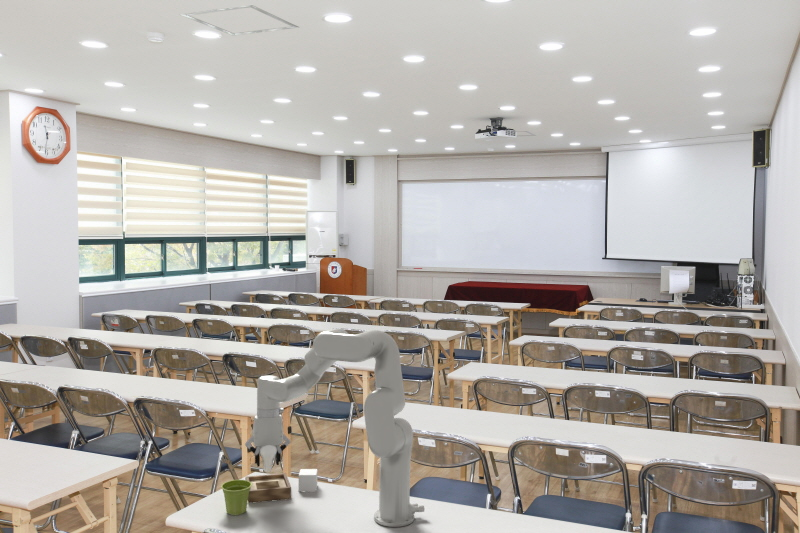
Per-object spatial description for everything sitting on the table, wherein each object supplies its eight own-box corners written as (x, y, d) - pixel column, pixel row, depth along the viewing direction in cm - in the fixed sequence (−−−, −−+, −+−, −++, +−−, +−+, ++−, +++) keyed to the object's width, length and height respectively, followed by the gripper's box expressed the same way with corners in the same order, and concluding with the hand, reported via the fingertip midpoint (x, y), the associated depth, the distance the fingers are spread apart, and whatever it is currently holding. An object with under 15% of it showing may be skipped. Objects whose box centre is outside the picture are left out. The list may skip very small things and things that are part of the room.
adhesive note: (315, 492, 234) (316, 475, 233) (298, 492, 233) (298, 475, 233) (317, 485, 240) (317, 468, 239) (300, 485, 239) (300, 468, 239)
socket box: (285, 484, 240) (285, 473, 240) (291, 499, 227) (291, 487, 227) (245, 487, 236) (245, 476, 236) (248, 503, 223) (248, 491, 222)
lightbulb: (274, 476, 228) (275, 444, 227) (256, 475, 228) (257, 443, 228) (278, 470, 234) (278, 438, 234) (260, 469, 234) (261, 438, 234)
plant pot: (252, 515, 213) (253, 488, 212) (222, 519, 210) (222, 491, 210) (250, 504, 222) (250, 478, 221) (220, 507, 219) (220, 481, 219)
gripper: (292, 408, 236) (291, 459, 237) (241, 411, 231) (241, 463, 232) (295, 413, 229) (294, 466, 230) (243, 416, 224) (242, 470, 225)
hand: (267, 464), depth 231 cm, fingers closed on lightbulb, 5 cm apart
